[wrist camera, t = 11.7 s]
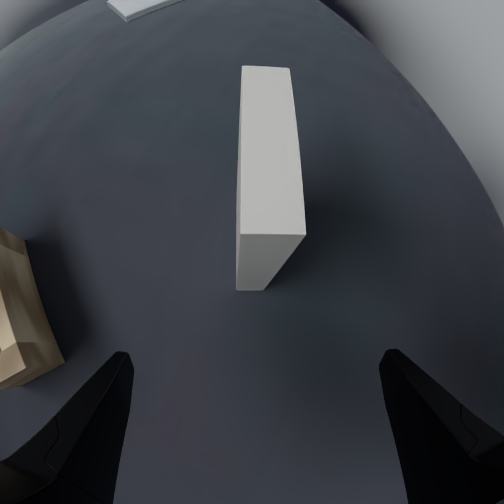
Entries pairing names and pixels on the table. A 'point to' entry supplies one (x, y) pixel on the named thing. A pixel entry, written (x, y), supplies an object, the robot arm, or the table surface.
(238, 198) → the cover plate
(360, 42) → the table surface
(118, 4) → the external hard drive
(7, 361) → the oak box
